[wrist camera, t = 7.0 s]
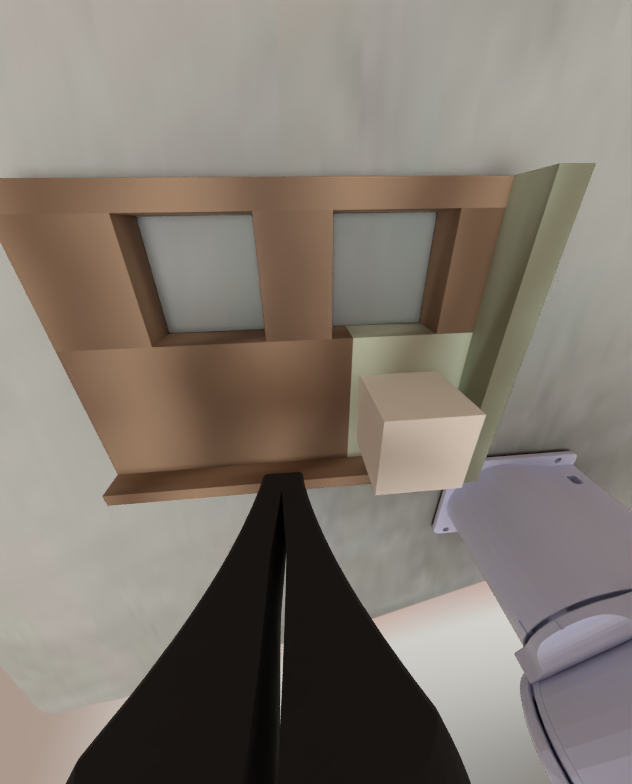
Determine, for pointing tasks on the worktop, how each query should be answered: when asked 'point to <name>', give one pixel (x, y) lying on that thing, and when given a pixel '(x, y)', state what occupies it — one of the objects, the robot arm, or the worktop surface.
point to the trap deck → (278, 317)
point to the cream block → (415, 431)
